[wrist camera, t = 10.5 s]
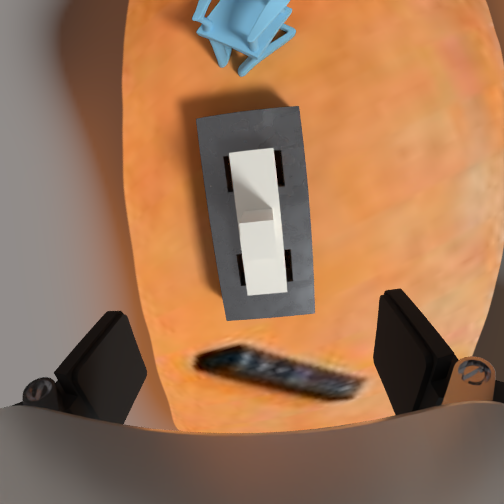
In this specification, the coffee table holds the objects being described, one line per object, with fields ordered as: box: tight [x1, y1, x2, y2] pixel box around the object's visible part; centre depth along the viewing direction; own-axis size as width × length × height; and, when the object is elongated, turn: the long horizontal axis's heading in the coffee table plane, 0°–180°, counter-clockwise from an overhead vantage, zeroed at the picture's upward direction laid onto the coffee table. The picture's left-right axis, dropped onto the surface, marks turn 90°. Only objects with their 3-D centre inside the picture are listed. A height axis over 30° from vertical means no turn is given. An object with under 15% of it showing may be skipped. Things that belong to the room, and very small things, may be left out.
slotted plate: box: [196, 106, 315, 321], centre depth 31 cm, size 22×10×4 cm, turn 7°
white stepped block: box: [229, 148, 287, 295], centre depth 28 cm, size 14×4×10 cm, turn 7°
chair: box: [192, 0, 296, 77], centre depth 21 cm, size 8×8×12 cm
